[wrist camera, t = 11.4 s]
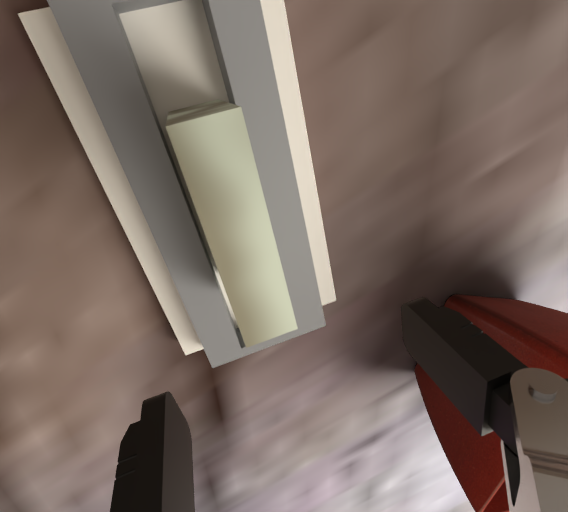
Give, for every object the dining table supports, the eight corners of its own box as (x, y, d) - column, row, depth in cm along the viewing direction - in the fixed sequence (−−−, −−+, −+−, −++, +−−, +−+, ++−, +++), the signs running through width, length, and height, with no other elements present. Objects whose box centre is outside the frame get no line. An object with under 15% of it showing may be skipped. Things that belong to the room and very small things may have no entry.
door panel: (217, 99, 25) (241, 106, 16) (264, 262, 32) (297, 328, 23) (168, 112, 24) (165, 126, 16) (226, 275, 31) (246, 347, 23)
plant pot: (439, 266, 41) (586, 366, 26) (547, 279, 47) (712, 364, 33) (383, 389, 48) (475, 521, 33) (484, 385, 54) (597, 494, 40)
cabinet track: (269, -31, 24) (290, -56, 20) (328, 290, 38) (348, 317, 33) (29, 19, 22) (-6, 2, 18) (185, 342, 35) (186, 377, 31)
